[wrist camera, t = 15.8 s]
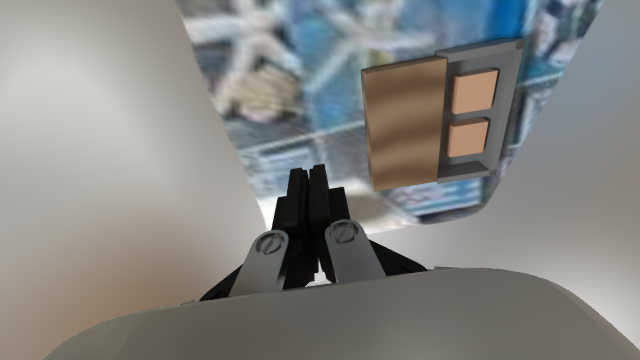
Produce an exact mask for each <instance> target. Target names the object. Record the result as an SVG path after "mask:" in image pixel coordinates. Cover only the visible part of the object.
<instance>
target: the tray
mask: <svg viewBox="0 0 640 360" xmlns="http://www.w3.org/2000/svg"><path fill="white" fill-rule="evenodd" d="M525 41H526V39H510V38H502V39H497V40H492V41H487V42H482V43H476V44H471V45H466V46H461V47H456V48H450V49H445V50H440V51H435V56H437V57H442V58H446V59H447V65H446V77H445V89H444V101H443V113H442V125H441V137H440V150H439V162H438V174H437V181H436V182H437V183H438V184H440V183H446V182H452V181H459V180H465V179H471V178H478V177H484V176H490V175H496V170H497V166H498V161H499V157H500V152H501V148H502V143H503V139H504V135H505V130H506V126H507V121H508V117H509V112H510V108H511V103H512V99H513V94H514V90H515V85H516V81H517V76H518V72H519V68H520V63H521V59H522V54H523V50H524V45H525ZM484 69H493V70H497V71H498V73H497V78H496V83H495V88H494V94H493V99H492V104H491V108H489V109H483V110H477V111H471V112H465V113H459V114H454V113H452V112H450V111H449V110H448V108H449V98H450V89H451V79H452V75H455V74H461V73H467V72H472V71H478V70H484ZM480 117H481V118H483V119H485V120H487V121H488V127H487V132H486V137H485V142H484V147H483V152H481V153H475V154H468V155H462V156H455V157H449V156H448V155H447V154H446V153H445V152H444V150H445V140H446V130H447V123H449V122H455V121H461V120H468V119H474V118H480Z"/></svg>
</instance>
